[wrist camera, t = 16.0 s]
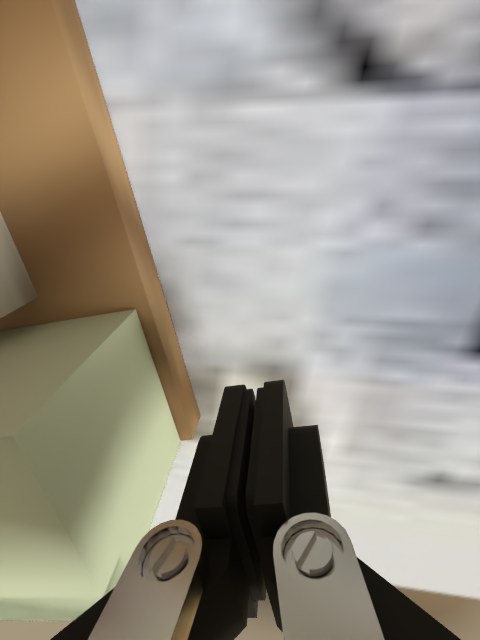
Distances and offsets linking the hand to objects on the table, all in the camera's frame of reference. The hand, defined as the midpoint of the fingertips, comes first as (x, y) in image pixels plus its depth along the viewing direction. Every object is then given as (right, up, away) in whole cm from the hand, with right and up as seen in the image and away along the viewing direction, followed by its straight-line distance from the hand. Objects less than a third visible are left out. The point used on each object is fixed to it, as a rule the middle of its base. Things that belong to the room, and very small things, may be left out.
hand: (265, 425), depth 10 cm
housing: (-7, 0, +4) cm, 8 cm away
